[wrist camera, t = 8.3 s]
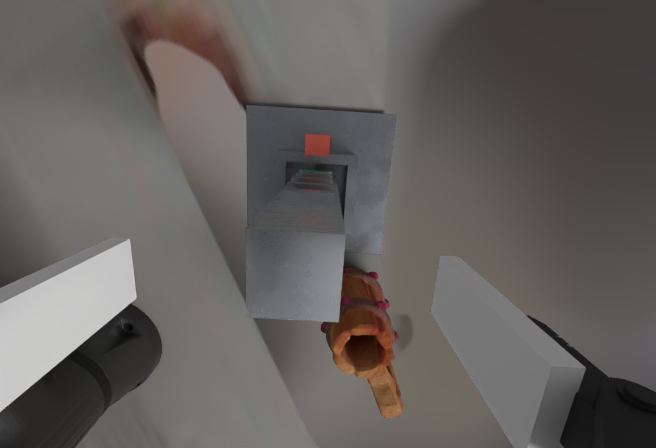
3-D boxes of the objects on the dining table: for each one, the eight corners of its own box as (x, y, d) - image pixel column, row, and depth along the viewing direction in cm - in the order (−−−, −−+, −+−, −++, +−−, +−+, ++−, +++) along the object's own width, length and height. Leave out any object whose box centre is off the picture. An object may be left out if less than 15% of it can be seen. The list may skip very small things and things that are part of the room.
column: (295, 211, 32) (246, 317, 13) (297, 168, 31) (245, 214, 12) (333, 213, 32) (338, 322, 13) (335, 170, 31) (346, 220, 12)
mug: (313, 270, 43) (305, 336, 29) (367, 248, 42) (386, 305, 28) (353, 350, 47) (364, 446, 32) (403, 332, 46) (437, 421, 31)
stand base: (249, 244, 42) (229, 271, 33) (248, 105, 37) (224, 95, 29) (379, 252, 42) (392, 280, 34) (394, 115, 38) (414, 107, 29)
